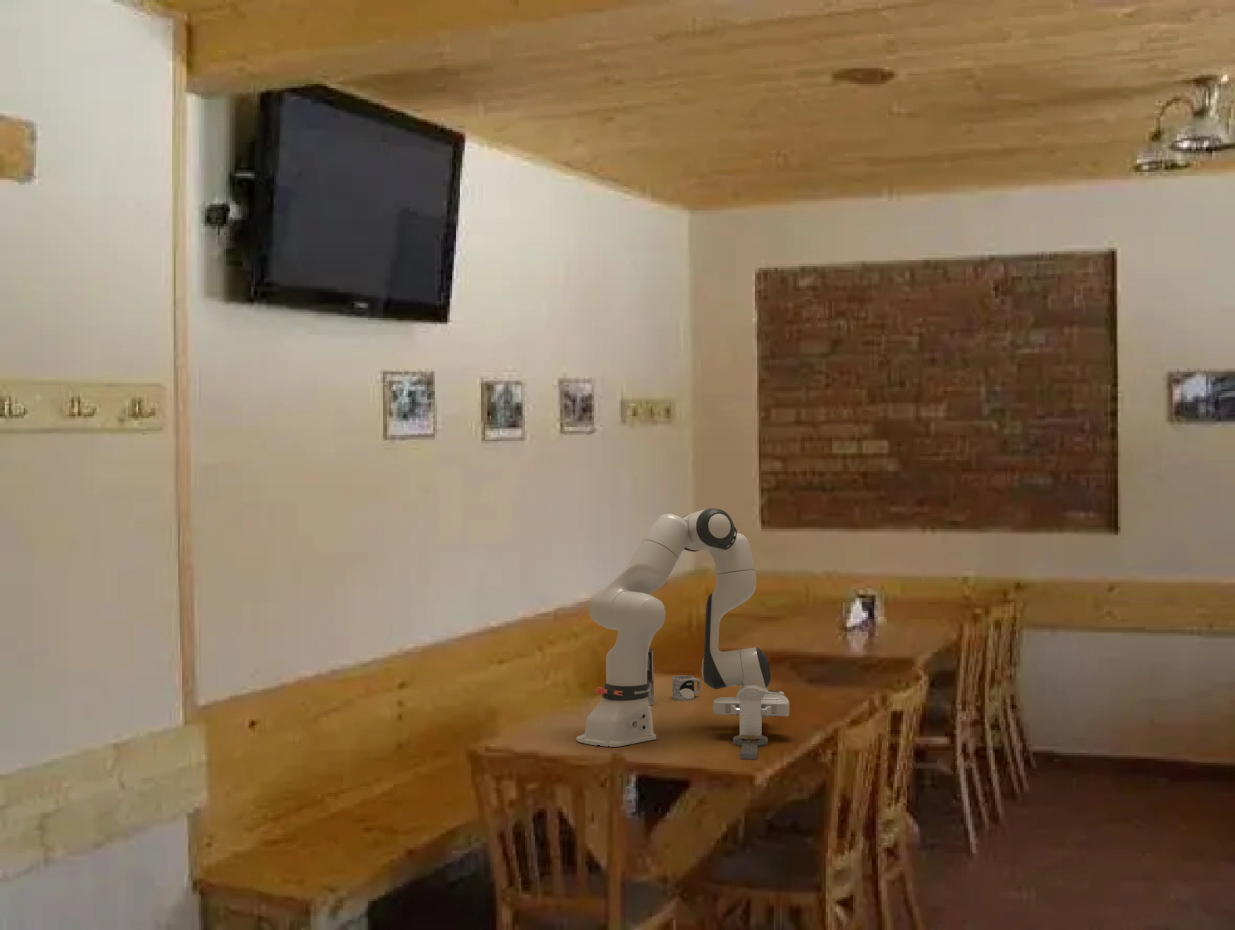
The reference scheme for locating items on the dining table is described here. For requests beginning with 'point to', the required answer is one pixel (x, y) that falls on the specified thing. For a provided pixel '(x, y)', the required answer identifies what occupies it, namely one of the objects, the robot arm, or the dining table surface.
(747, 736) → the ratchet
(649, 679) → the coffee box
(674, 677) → the mug
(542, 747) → the dining table surface
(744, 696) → the upright grey pillar
